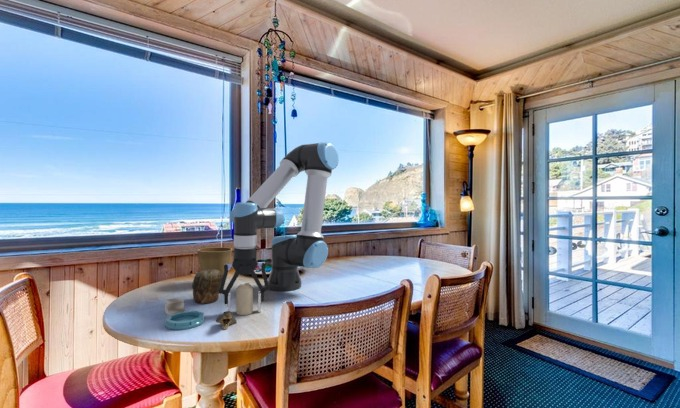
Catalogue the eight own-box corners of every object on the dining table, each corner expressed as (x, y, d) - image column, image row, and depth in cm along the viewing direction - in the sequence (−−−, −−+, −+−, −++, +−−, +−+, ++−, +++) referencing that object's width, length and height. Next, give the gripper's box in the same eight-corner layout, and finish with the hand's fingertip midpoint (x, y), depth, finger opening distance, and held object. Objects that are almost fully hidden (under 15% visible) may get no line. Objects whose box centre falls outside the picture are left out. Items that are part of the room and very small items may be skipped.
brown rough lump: (212, 306, 119) (213, 273, 119) (185, 304, 121) (186, 271, 121) (228, 297, 130) (229, 267, 129) (203, 295, 132) (204, 265, 132)
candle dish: (205, 315, 110) (205, 309, 110) (202, 327, 99) (202, 321, 99) (169, 318, 106) (169, 312, 106) (161, 331, 96) (161, 324, 96)
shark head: (236, 334, 98) (240, 312, 97) (213, 333, 96) (217, 310, 95) (236, 322, 105) (240, 301, 105) (215, 320, 103) (219, 300, 103)
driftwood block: (180, 308, 116) (180, 297, 116) (184, 312, 112) (184, 301, 112) (164, 311, 113) (164, 300, 113) (168, 315, 109) (168, 303, 109)
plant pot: (231, 287, 144) (231, 251, 144) (194, 289, 140) (194, 252, 140) (232, 279, 159) (233, 246, 158) (199, 280, 155) (200, 247, 154)
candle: (246, 308, 117) (246, 281, 117) (255, 312, 114) (256, 283, 113) (232, 312, 113) (233, 283, 113) (242, 316, 109) (242, 286, 109)
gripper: (276, 244, 120) (275, 306, 120) (211, 246, 113) (210, 311, 113) (278, 247, 112) (277, 312, 113) (210, 249, 106) (209, 318, 106)
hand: (244, 312), depth 113 cm, fingers open, 9 cm apart
